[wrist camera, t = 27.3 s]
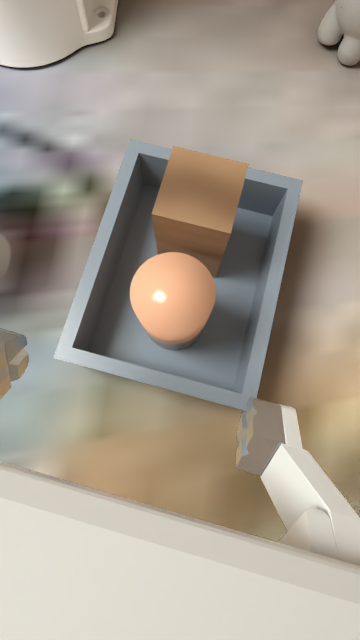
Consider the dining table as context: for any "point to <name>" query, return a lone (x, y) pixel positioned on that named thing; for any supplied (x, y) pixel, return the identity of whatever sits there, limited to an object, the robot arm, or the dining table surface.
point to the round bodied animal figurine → (342, 30)
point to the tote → (230, 282)
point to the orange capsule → (173, 299)
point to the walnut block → (197, 205)
